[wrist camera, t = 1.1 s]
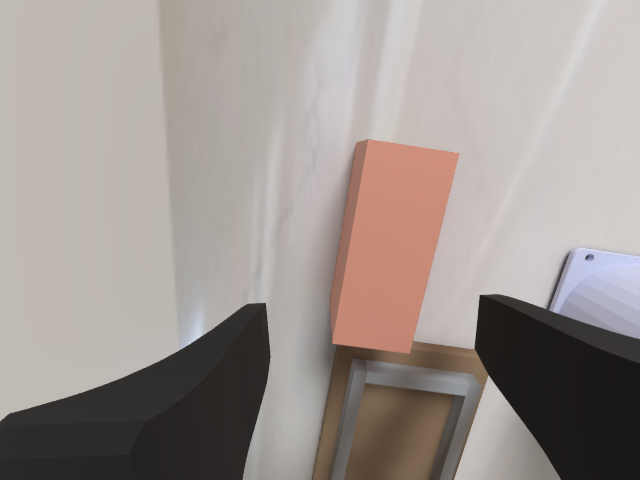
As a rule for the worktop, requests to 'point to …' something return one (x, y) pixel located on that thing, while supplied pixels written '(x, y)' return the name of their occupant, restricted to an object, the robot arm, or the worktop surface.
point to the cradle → (398, 413)
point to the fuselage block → (388, 243)
